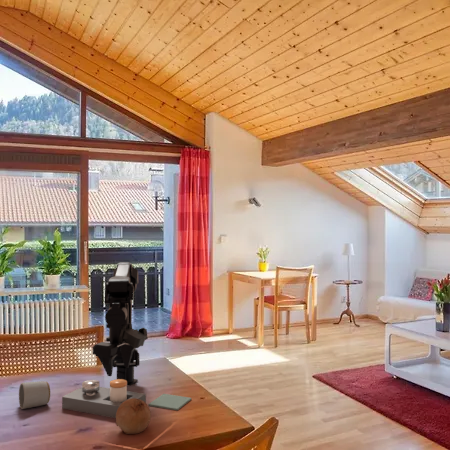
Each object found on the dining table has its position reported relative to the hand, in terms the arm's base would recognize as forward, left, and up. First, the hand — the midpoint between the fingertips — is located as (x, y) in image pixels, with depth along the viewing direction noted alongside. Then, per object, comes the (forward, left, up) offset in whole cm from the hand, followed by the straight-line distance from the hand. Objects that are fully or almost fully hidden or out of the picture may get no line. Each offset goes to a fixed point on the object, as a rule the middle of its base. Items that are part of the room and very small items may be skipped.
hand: (118, 371), depth 152 cm
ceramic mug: (+6, -27, -12) cm, 31 cm away
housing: (0, -5, -12) cm, 13 cm away
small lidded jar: (0, 0, -11) cm, 11 cm away
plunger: (0, -10, -11) cm, 15 cm away
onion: (+11, +12, -12) cm, 20 cm away
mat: (-11, +12, -12) cm, 20 cm away
